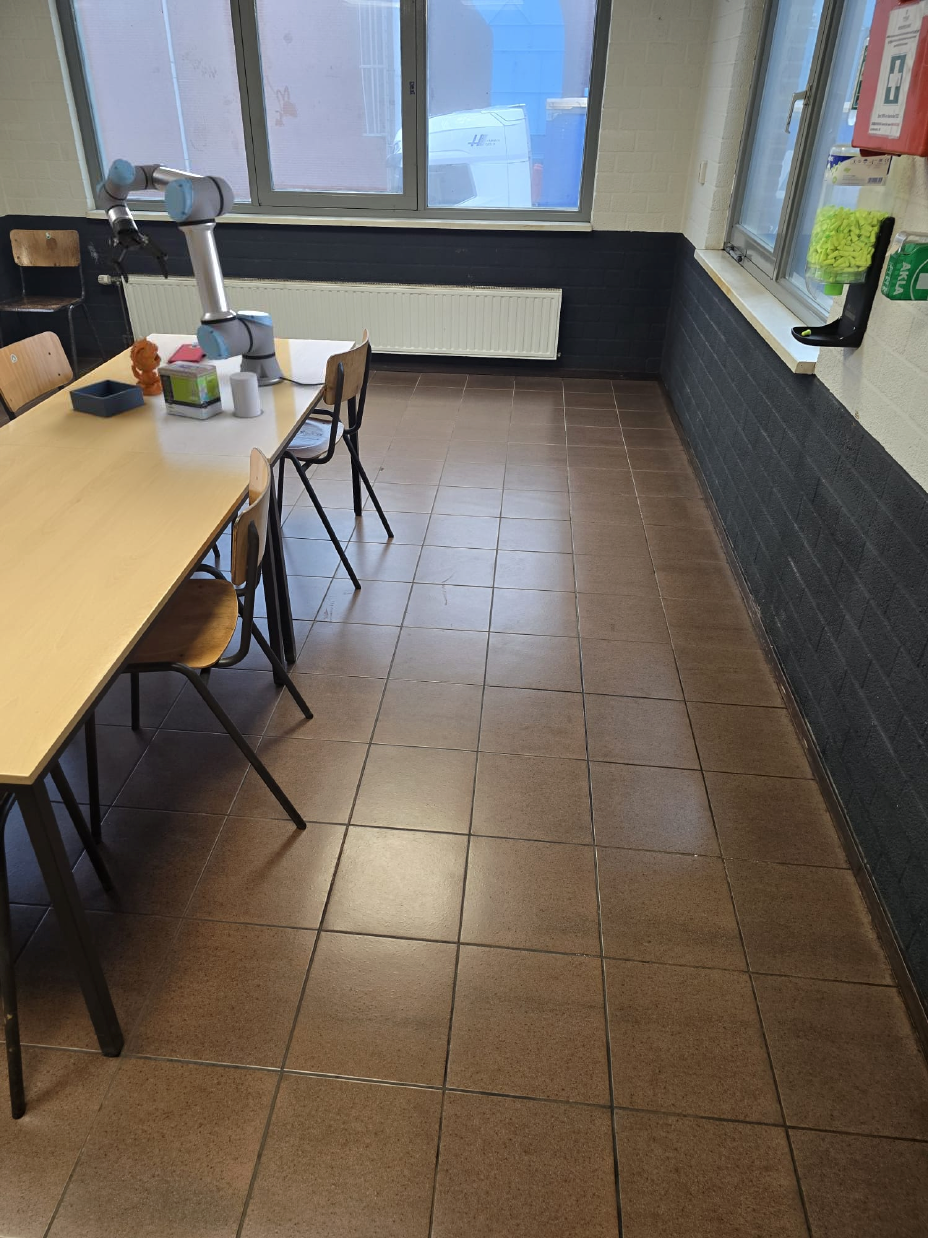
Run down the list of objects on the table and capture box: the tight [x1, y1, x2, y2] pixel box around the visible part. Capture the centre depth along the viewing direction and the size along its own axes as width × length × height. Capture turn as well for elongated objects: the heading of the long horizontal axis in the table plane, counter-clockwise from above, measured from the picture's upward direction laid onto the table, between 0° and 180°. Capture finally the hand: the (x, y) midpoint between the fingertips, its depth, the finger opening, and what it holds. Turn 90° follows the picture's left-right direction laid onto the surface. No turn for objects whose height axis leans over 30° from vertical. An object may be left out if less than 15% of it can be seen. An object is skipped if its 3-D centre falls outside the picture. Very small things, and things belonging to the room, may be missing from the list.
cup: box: [229, 371, 262, 418], centre depth 264 cm, size 8×8×12 cm
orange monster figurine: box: [129, 336, 163, 396], centre depth 279 cm, size 11×11×18 cm
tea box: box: [158, 361, 223, 420], centre depth 263 cm, size 15×10×15 cm, turn 65°
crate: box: [68, 378, 146, 419], centre depth 269 cm, size 15×15×6 cm
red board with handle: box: [167, 341, 208, 364], centre depth 326 cm, size 30×3×15 cm
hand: (147, 278), depth 284 cm, fingers open, 13 cm apart
